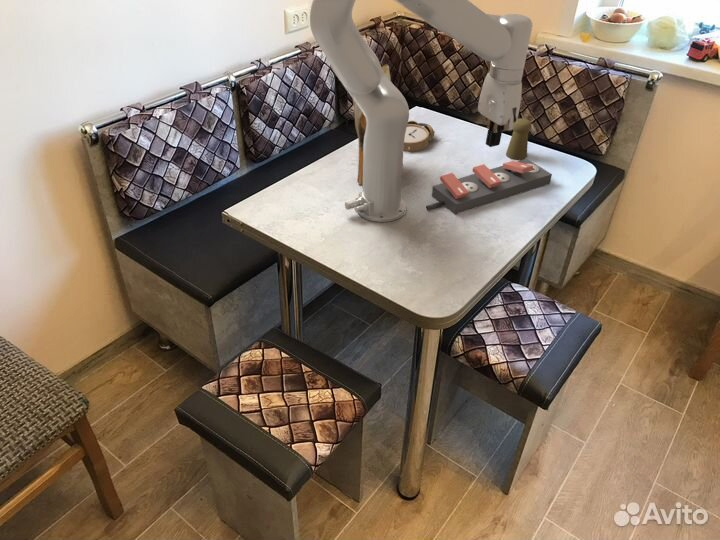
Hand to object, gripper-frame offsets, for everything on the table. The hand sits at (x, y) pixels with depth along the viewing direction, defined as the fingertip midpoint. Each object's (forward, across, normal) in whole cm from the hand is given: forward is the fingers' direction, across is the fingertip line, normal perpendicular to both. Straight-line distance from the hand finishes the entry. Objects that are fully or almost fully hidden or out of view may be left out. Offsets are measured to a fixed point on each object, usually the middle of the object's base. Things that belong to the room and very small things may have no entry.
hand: (492, 144), depth 154 cm
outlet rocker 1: (+11, -1, -10) cm, 15 cm away
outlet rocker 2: (+11, -1, +1) cm, 11 cm away
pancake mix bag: (+15, -23, -20) cm, 34 cm away
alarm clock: (+15, -35, 0) cm, 38 cm away
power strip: (+14, -1, +1) cm, 14 cm away
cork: (+14, -13, +22) cm, 30 cm away
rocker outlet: (+11, -1, +11) cm, 15 cm away
